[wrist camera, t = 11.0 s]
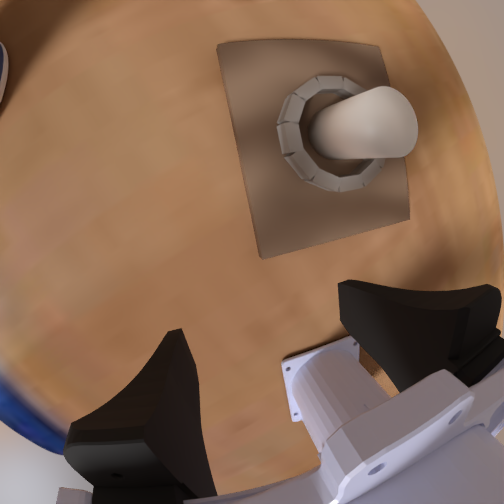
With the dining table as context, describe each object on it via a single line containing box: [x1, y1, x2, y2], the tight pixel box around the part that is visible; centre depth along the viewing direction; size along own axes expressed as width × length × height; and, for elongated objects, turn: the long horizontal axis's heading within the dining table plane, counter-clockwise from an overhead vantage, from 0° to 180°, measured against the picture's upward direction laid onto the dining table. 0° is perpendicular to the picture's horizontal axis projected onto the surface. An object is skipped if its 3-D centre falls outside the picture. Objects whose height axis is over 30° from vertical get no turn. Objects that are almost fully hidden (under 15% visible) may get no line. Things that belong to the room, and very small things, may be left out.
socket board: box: [216, 39, 410, 260], centre depth 19 cm, size 16×14×2 cm
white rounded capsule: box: [308, 86, 418, 160], centre depth 16 cm, size 4×4×7 cm
